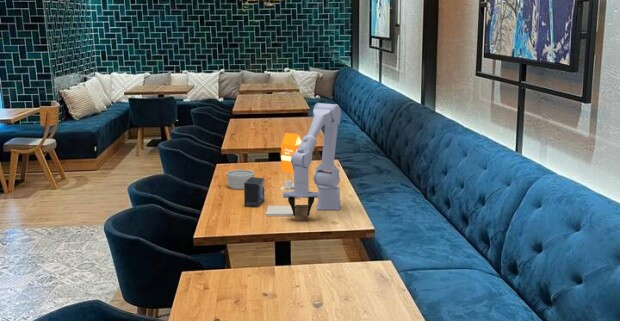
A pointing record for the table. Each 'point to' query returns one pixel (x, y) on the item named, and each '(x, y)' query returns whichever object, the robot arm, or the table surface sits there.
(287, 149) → the orange juice
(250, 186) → the small box
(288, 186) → the teacup and saucer
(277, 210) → the ceramic tile
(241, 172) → the ramekin
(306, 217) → the walnut block
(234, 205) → the table surface
